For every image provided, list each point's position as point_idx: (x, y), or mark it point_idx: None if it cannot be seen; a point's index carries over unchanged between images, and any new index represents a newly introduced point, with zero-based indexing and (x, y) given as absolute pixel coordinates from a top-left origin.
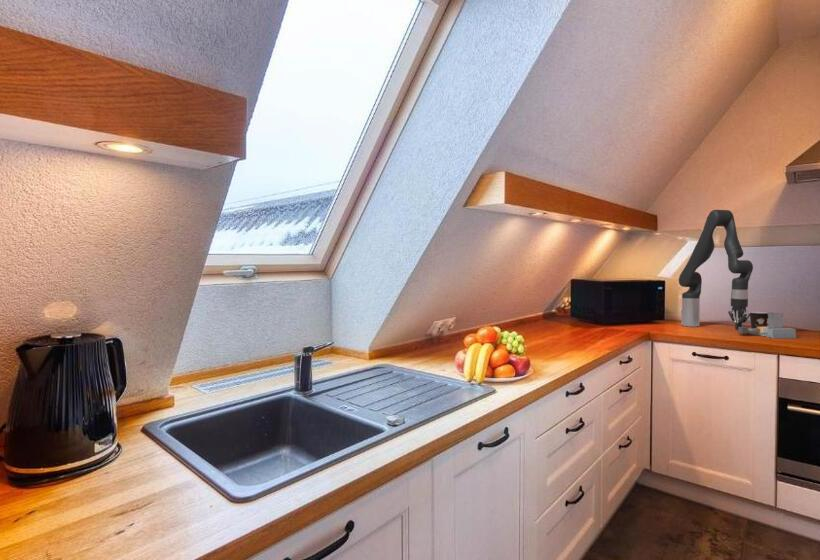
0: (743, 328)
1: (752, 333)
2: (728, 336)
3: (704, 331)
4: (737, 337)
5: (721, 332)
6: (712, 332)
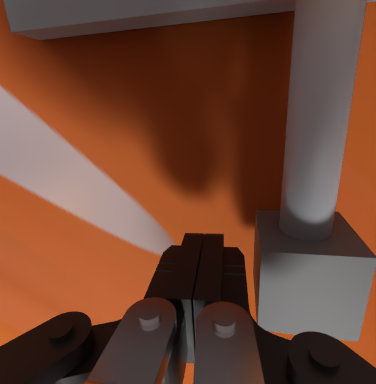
0: (353, 313)
1: (181, 18)
2: None
3: (13, 323)
4: (370, 341)
5: (49, 248)
6: (60, 310)
